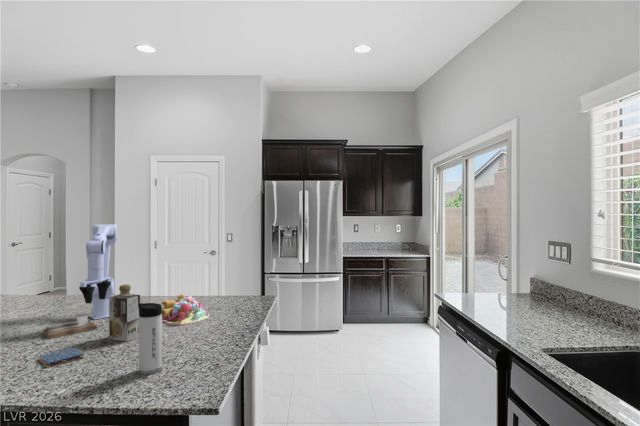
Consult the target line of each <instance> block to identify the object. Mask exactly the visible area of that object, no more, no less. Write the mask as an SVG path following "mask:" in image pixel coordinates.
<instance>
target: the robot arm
mask: <svg viewBox="0 0 640 426" xmlns="http://www.w3.org/2000/svg"><path fill="white" fill-rule="evenodd" d="M117 236H118V225H117V224H116V223H114V224H113V223H112V224H111V223H110V224H109V223H108V224H107V223H105V224H100V223H99V224H97V223H94V224H93V226H92V237H91V239H90V240H89V241H87V242H86V244H85V245H86V246H85V251H86V259H87V279H85V280H84V281H80V282H79V284H80V285H79V288H78V289H79V291H80V292H81V294H82V296H83V298H84V302H85V304H91V310H92V312H91V314H90V315H89V314H88V317H90V318H91V319H93V320H100V319H104V318H105V319H106V318H109V297H112V296H114V294H115V280H114V278H113V277H111V276H110V275H109V268H110V258H111V248H112V245H113V244H115V243H117Z"/></svg>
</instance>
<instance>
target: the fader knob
mask: <svg viewBox="0 0 640 426" xmlns="http://www.w3.org/2000/svg"><path fill="white" fill-rule="evenodd" d="M75 315H76V318H75V319H76V321H75V322H76V324H77V325H80V324H85V323H88V319H89V318H88V317H89V314H88V313H87V312H86V311H83V312H78V313H75Z"/></svg>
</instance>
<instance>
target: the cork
mask: <svg viewBox="0 0 640 426" xmlns="http://www.w3.org/2000/svg"><path fill="white" fill-rule="evenodd" d="M131 288H132V287H131V285H130V284H122V285H119V288H118V290H119V294H131V293H130V292H131Z"/></svg>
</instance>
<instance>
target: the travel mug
mask: <svg viewBox="0 0 640 426" xmlns="http://www.w3.org/2000/svg"><path fill="white" fill-rule="evenodd" d="M138 307H139V337H138V373H139V374H141V375H152V374H156V373H159V372H160V371H161V370H162V368H163V322H162V308H163V307H162V304H160V303H154V302H145V303H143V302H140V304H139V305H138Z"/></svg>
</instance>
